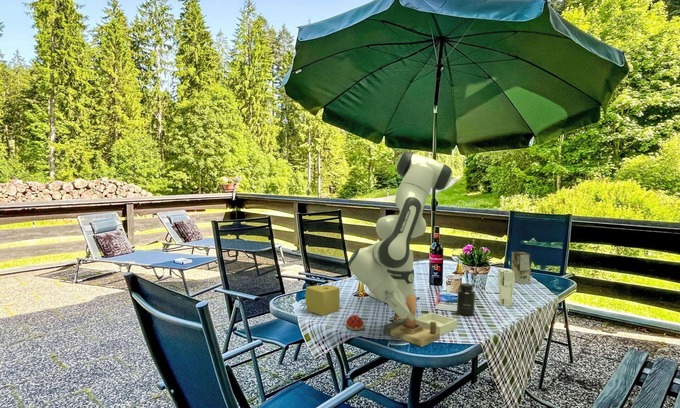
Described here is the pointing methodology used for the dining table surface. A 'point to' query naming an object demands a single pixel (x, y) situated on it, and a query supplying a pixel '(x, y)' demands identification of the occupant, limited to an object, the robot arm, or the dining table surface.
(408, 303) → the dowel
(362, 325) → the red domed piece
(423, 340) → the bench plate
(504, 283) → the beige tall block
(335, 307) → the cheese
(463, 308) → the supplement bottle
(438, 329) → the tray
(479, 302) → the dining table surface
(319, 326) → the dining table surface
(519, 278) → the coffee box
